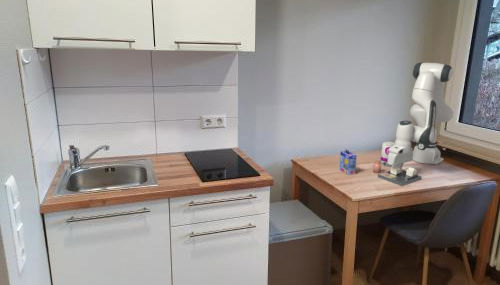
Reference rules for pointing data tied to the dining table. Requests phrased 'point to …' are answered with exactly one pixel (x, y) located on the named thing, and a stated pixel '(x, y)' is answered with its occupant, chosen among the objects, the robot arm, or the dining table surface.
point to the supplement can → (385, 152)
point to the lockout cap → (377, 167)
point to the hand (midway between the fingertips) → (399, 170)
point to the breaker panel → (399, 177)
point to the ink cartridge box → (347, 162)
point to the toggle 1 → (395, 170)
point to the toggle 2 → (411, 171)
